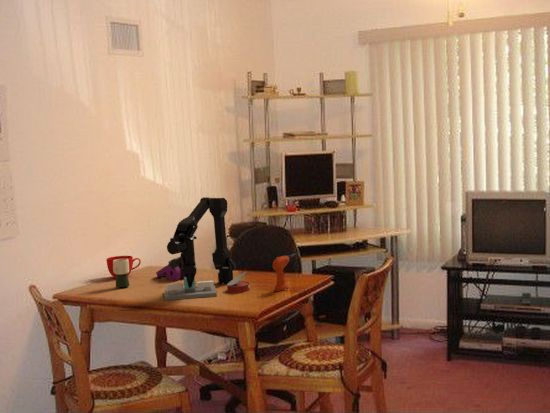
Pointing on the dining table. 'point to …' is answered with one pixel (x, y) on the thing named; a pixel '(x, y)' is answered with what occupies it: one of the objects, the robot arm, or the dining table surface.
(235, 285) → the canned food
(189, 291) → the plate
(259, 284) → the dining table surface
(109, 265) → the ceramic cup
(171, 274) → the mounting bracket
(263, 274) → the dining table surface
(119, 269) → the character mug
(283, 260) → the toy drill
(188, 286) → the block
